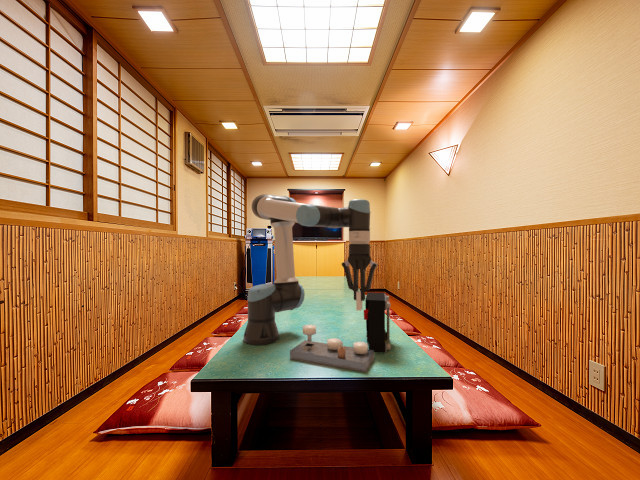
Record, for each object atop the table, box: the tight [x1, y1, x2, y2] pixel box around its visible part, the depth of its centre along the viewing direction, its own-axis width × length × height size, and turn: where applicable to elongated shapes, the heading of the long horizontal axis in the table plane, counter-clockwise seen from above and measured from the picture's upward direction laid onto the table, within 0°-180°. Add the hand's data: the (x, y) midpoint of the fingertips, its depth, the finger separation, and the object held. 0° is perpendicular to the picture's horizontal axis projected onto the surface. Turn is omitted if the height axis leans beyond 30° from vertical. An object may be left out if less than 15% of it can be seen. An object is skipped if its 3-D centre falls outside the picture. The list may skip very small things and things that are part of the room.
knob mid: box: [326, 337, 341, 350], centre depth 106 cm, size 5×5×6 cm
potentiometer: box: [338, 341, 345, 358], centre depth 99 cm, size 3×3×5 cm
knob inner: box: [302, 324, 317, 342], centre depth 110 cm, size 5×5×6 cm
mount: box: [289, 340, 375, 373], centre depth 105 cm, size 28×12×3 cm, turn 67°
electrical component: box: [363, 291, 392, 354], centre depth 119 cm, size 18×10×20 cm, turn 168°
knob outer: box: [352, 341, 369, 355], centre depth 103 cm, size 5×5×6 cm
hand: (359, 309), depth 103 cm, fingers closed
